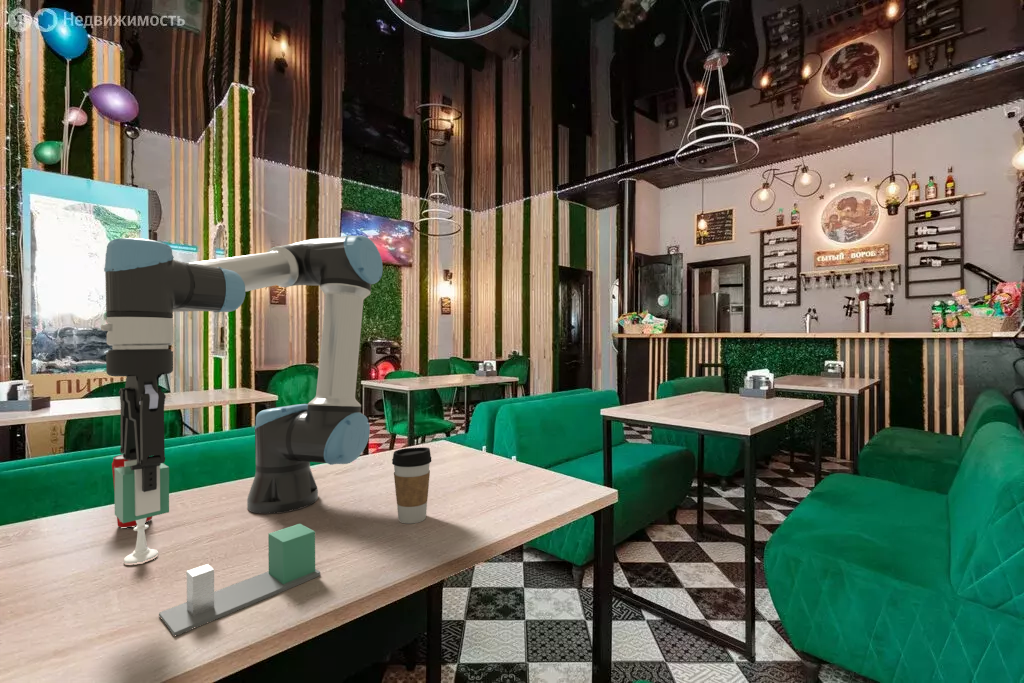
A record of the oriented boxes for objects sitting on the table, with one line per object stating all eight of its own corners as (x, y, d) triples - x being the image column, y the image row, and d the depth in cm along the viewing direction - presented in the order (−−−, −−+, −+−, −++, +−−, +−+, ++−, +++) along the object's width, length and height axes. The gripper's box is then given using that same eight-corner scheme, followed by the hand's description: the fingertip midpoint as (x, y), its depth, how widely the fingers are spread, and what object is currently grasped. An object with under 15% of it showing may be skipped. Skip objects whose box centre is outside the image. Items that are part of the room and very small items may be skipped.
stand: (159, 616, 64) (158, 565, 64) (299, 562, 80) (299, 521, 80) (174, 636, 60) (174, 582, 60) (320, 575, 75) (320, 531, 75)
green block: (114, 514, 66) (114, 468, 66) (159, 504, 70) (158, 461, 70) (123, 523, 63) (122, 475, 63) (169, 512, 67) (168, 467, 67)
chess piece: (129, 568, 78) (129, 510, 78) (118, 561, 81) (118, 504, 81) (163, 557, 82) (163, 501, 82) (152, 550, 85) (151, 496, 85)
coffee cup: (422, 527, 95) (422, 455, 94) (385, 524, 96) (384, 453, 96) (437, 512, 103) (437, 446, 103) (402, 509, 104) (402, 444, 104)
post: (186, 609, 65) (186, 570, 65) (207, 601, 67) (207, 563, 67) (193, 616, 63) (192, 576, 63) (214, 607, 65) (214, 569, 65)
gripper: (93, 347, 69) (95, 501, 69) (122, 348, 57) (123, 533, 58) (155, 346, 75) (156, 488, 75) (192, 347, 63) (193, 515, 63)
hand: (142, 507), depth 66 cm, fingers closed on green block, 5 cm apart
